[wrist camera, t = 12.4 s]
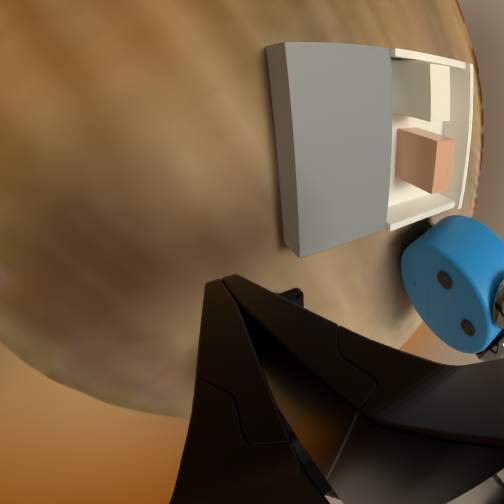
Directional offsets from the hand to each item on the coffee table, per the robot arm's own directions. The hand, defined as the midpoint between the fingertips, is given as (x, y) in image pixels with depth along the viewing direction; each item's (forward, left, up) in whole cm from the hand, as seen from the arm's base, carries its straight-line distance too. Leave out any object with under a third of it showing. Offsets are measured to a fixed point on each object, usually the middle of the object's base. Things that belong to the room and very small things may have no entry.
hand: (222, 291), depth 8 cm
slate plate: (0, -11, -12) cm, 16 cm away
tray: (0, -20, -12) cm, 24 cm away
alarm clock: (-14, -23, -12) cm, 30 cm away
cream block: (+4, -17, -9) cm, 20 cm away
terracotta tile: (-2, -18, -9) cm, 20 cm away
